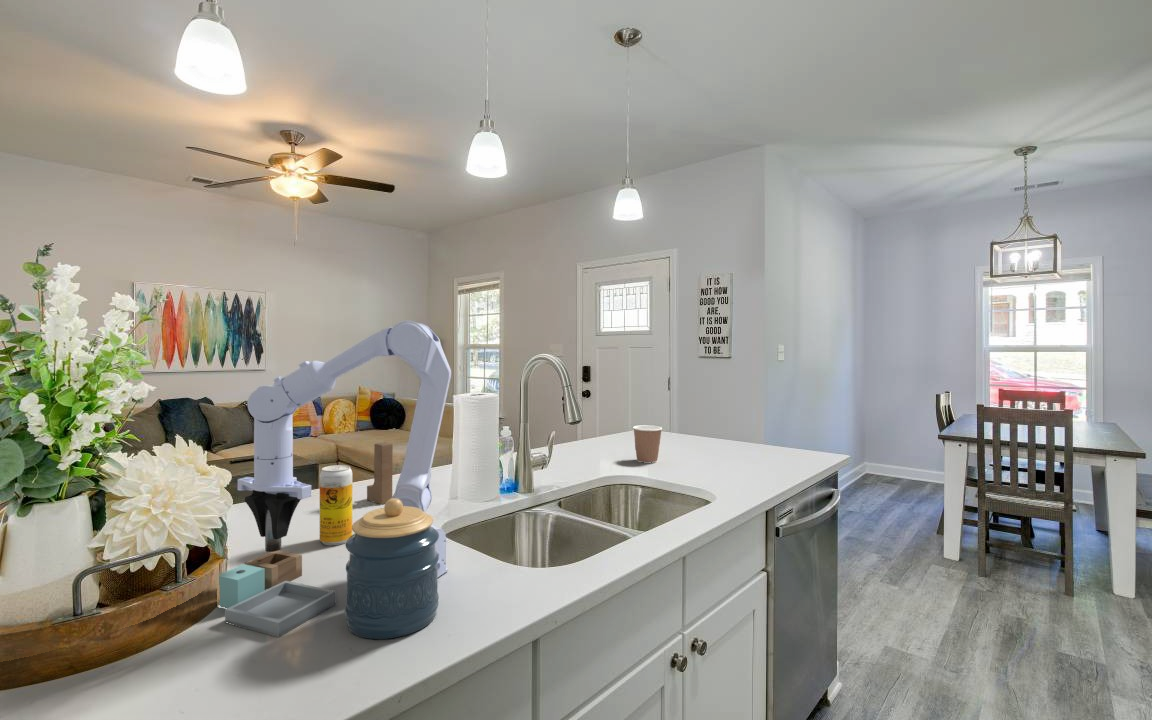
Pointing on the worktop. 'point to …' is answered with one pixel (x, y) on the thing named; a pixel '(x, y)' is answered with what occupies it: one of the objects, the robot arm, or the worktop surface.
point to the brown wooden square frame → (278, 567)
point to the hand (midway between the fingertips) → (273, 536)
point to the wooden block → (381, 474)
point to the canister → (391, 572)
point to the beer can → (335, 504)
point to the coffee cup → (647, 442)
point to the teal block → (240, 584)
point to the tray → (280, 608)
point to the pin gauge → (270, 535)
